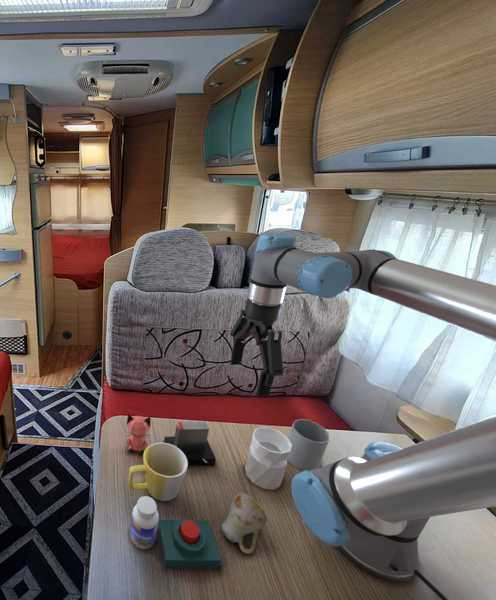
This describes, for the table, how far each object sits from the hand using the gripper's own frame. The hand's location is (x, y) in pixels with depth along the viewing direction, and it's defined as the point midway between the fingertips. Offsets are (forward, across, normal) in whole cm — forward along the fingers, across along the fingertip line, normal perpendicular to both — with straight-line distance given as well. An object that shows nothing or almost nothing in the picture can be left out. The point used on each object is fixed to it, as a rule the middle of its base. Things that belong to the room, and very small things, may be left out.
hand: (247, 378), depth 84 cm
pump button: (+21, -24, +21) cm, 38 cm away
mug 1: (+25, -11, +25) cm, 37 cm away
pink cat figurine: (+24, +2, +27) cm, 37 cm away
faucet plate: (+24, 0, +13) cm, 28 cm away
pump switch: (+25, -24, +21) cm, 40 cm away
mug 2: (+25, -21, +8) cm, 34 cm away
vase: (+25, -8, -4) cm, 26 cm away
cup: (+25, -4, -18) cm, 31 cm away
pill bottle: (+25, -21, +30) cm, 44 cm away
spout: (+22, 0, +13) cm, 25 cm away
